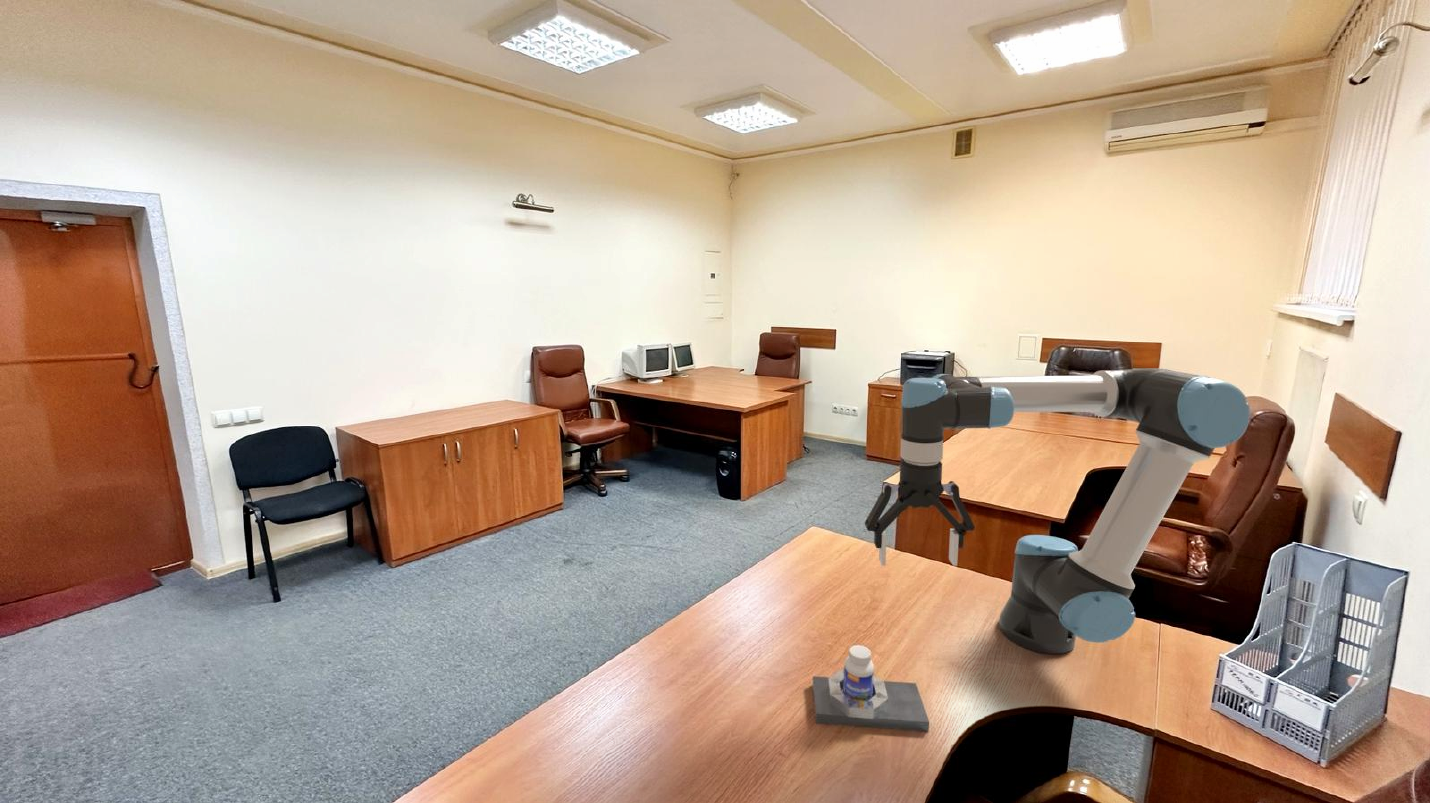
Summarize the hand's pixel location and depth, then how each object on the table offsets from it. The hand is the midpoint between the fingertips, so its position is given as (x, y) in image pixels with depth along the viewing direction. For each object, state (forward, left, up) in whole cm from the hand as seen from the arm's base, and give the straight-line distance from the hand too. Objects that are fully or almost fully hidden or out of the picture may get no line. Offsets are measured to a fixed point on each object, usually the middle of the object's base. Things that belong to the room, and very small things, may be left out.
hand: (917, 562), depth 110 cm
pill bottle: (+12, +11, -23) cm, 28 cm away
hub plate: (+10, +11, -25) cm, 29 cm away
